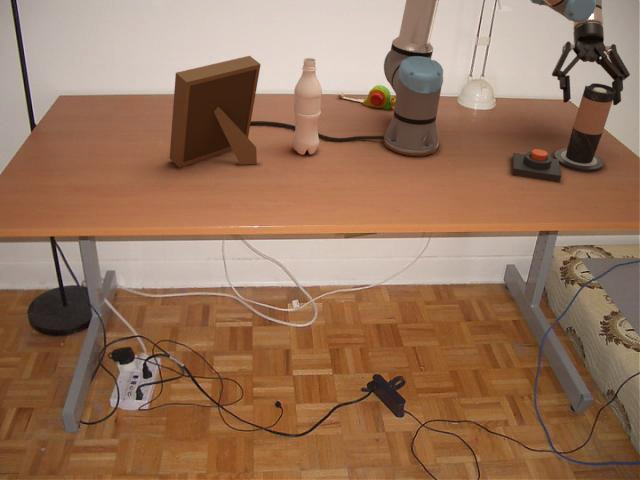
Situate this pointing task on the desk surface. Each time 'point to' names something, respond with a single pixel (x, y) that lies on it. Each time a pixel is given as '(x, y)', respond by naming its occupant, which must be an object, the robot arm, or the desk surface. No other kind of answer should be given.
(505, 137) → the desk surface
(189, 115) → the photo frame
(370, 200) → the desk surface
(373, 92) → the toy measuring tape
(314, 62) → the water bottle
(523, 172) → the switch
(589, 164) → the plate
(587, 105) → the travel mug
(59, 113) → the desk surface
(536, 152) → the button
